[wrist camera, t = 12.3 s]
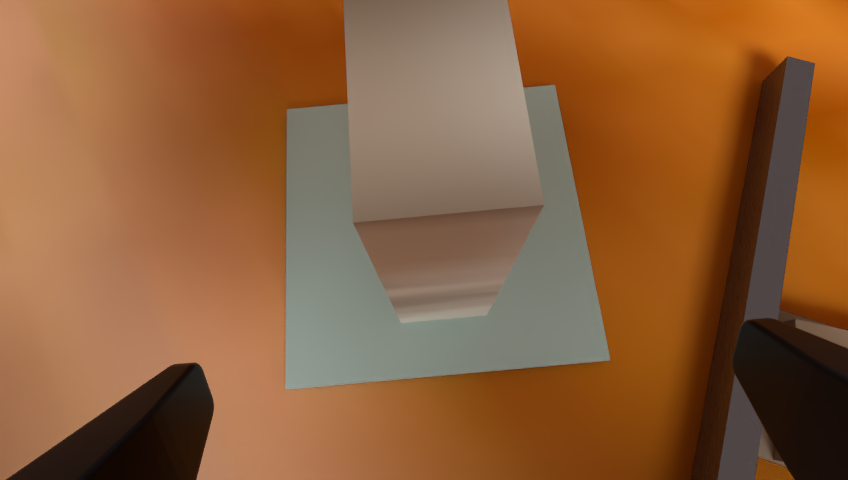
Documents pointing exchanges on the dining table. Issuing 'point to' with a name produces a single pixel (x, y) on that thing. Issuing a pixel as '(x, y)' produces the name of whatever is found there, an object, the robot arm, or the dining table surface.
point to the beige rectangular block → (439, 151)
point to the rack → (755, 269)
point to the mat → (369, 303)
